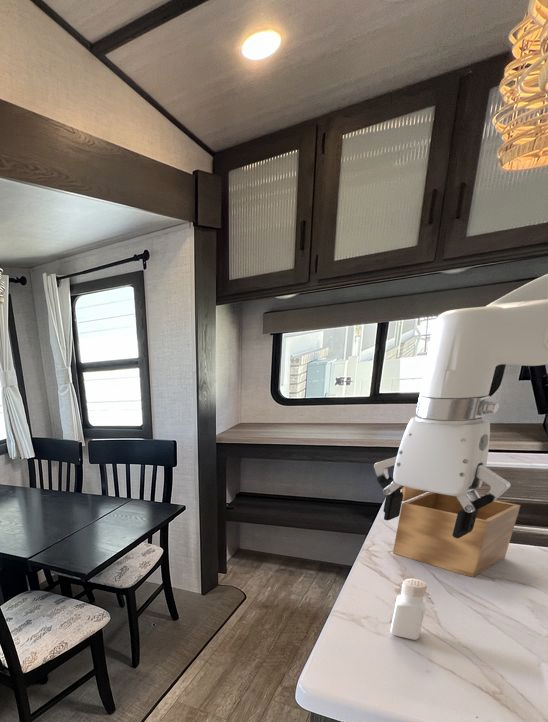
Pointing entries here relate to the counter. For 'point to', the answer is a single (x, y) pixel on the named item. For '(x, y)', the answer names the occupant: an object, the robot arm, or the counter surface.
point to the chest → (435, 528)
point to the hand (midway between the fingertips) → (423, 526)
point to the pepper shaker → (409, 609)
